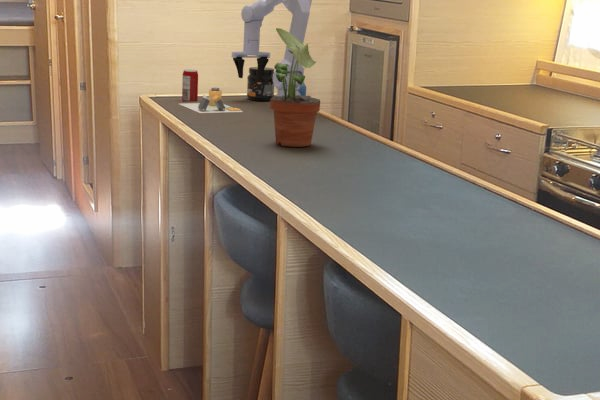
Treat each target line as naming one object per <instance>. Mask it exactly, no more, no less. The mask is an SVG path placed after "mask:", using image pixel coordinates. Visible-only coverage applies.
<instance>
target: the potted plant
mask: <svg viewBox="0 0 600 400" xmlns="http://www.w3.org/2000/svg"><path fill="white" fill-rule="evenodd" d="M275 29H276V32H277V34H278V36H279V37H280V39H281V40H282V41H283V43H284V44H285V45H286V46H287V47H288V48H289V49H290V50H292V51H290V50H288V51H289V52H290V53H291V54H294V55H295V58H296V59H297V61H296V64H297V70H298V62H299V63H300V65H302V66H303V68H304V69H308V68H310V69H311V68H312V67H313V66H314V65H315V64H316V62H317V61H315V60H314V59H313V58H312V56H311V55H310V51H309V43H306V44H305V45H304V43H303V44H302V43H301V42H300V41H299V40H298V39H297V38H295V37H294V36H293V35H292V34H290V33H289V31H287V30H285V29H282V28H279V27H278V28H275ZM293 61H294V56H293ZM293 61H292V66H291V71H290V72H288V71H287V67H288V66H289V65H288V64H283V65H282V63H280V62H277V63H275V65H274V68H273V69H274V70H275V71H276V72H277V74H276V78H277V79H278V81H279V82H282V81H283V90H284V96H277V95H275V96H274V97H271V99H270V101H269V102H270V109H271V110H272V111H273V121H274V123H273V124H274V135H275V143H276V144H277V146H278V145H280V146H282V147H296V148H299V147H308V146H311V145H312V140H313V134H314V129H315V124H316V119H317V114H318V112H320V109H321V99H320V98H315V97H312V96H311V95H306V96H304V95H295V90H296V81H297V83H298V84H301V85H302V83H303V81H305V78H306V76H305V75H304V76H303V75H297V71H296V76H295V75H294V73H295V68H296V64H295V67H294V71H293V75H292V69H293ZM287 73H290V78H289V86H288V95H287V81H286V78H285V77H286V76H287ZM291 78H292V81H291ZM284 80H285V83H284ZM293 80H294V83H293ZM285 84H286V89H285Z"/></svg>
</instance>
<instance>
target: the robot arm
mask: <svg viewBox="0 0 600 400" xmlns="http://www.w3.org/2000/svg"><path fill="white" fill-rule="evenodd" d="M312 2H313V0H257V1H255V2H253V3H252V4H251V5H248V4H247V5H244V6H243V7H242V9H241V12H240V13H241V19H242V21H243V22H244V26H243V28H244V29H243V50H242V51H231V58H232V60H233V63H234V64H235V67H236V71H237V76H238V79H243V78H244V67H245V66H244V65H245V61H246V60H245V59H244V58H246V59H249V58H251V59H253V58H254V59H255V58H256V64H257V67H258V71H257V77H258V78H262V74H263V71H264V68H265V67H267V65H268V63H269V59H271V52H270V51H269V52H268V51H260V41H261V40H260V39H261V27H262V26H263V24H262V23H263V21H264V18H265V17H266V16H268V15H269V14H271V13H273V11H274V10H275V9H274V8H275V7H276V6H278V5H280V4H283V6H284V7H285V8H286V10H287V11H288V12H290V13H291V14H292V18H291V22H290V27H289V31H288V32H289V33H290V34H292V35H293V36H294V37H295V38H297V39H298V40H299V41H300V42H301V43H302V44H304V42H305V37H306V31H307V28H308V22H309V18H310V14H311V13H310V11H311V7H312V6H311V5H312ZM288 50H290V49H289V48H288V47H287V45H286V47H285V52H284V56H283V59H282V61H280V62H279V63H282V65H283V64H288V65H289V66H288V67H287V71H288V72H290V71H291V66H292V61H293V56H294V61H293V69H292V75H293V71H294V67H295V64H296V61H297V59H296V58H295V55H294V54H291V53H290V52H289V51H288ZM290 51H292V50H290ZM296 71H297V75H303V76H305V75H304V73H305V67H303V66H302V65H300V63H299V62H298V70H297V64H296V68H295V73H294V75H295V76H296ZM276 74H277V72H276V70H274V74H273V83H274V88H275V89H277V90H276V91H277V93H276V96H284V90H283V81H282V82H279V81H278V79H277V78H276ZM285 78H286V81H287V95H288V86H289V78H290V73H287V76H286V77H285ZM291 81H292V78H291ZM304 81H305V80H304ZM304 81H303V82H304ZM284 83H285V80H284ZM293 83H294V80H293ZM304 83H305V82H304ZM302 84H303V83H302ZM301 86H302V85H301V84H298V83H297V81H296V90H295V95H301V94H300V93H299V92H298V89H300V87H301ZM285 89H286V84H285Z"/></svg>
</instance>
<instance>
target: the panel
mask: <svg viewBox="0 0 600 400" xmlns="http://www.w3.org/2000/svg"><path fill="white" fill-rule="evenodd" d="M199 104H200V102H194V103H193V102H192V103H191V102H184V103H179V106H182V107H185V108H187V109H190V110H191V111H194V112H196V113H199V114H216V113H217V114H218V113H219V114H220V113H244V111H243V110H242V109H240V108H238V107H232V106H230V105H227V104H225V103H223V104H224V106H225V111H221V110H218V108H217V106H209V104H208V106H207V108H206V111H201V110H199V109H198V106H199Z"/></svg>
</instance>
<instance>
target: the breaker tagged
mask: <svg viewBox="0 0 600 400" xmlns="http://www.w3.org/2000/svg"><path fill="white" fill-rule="evenodd" d="M212 99H213V101H214V103H215V104H216V106H217V108H218V110H221V111H225V106H224V104H225V103H224V102H223V101H222V98H221V99H220V97H219V96H216V95H215V96H214V97H212Z"/></svg>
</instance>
